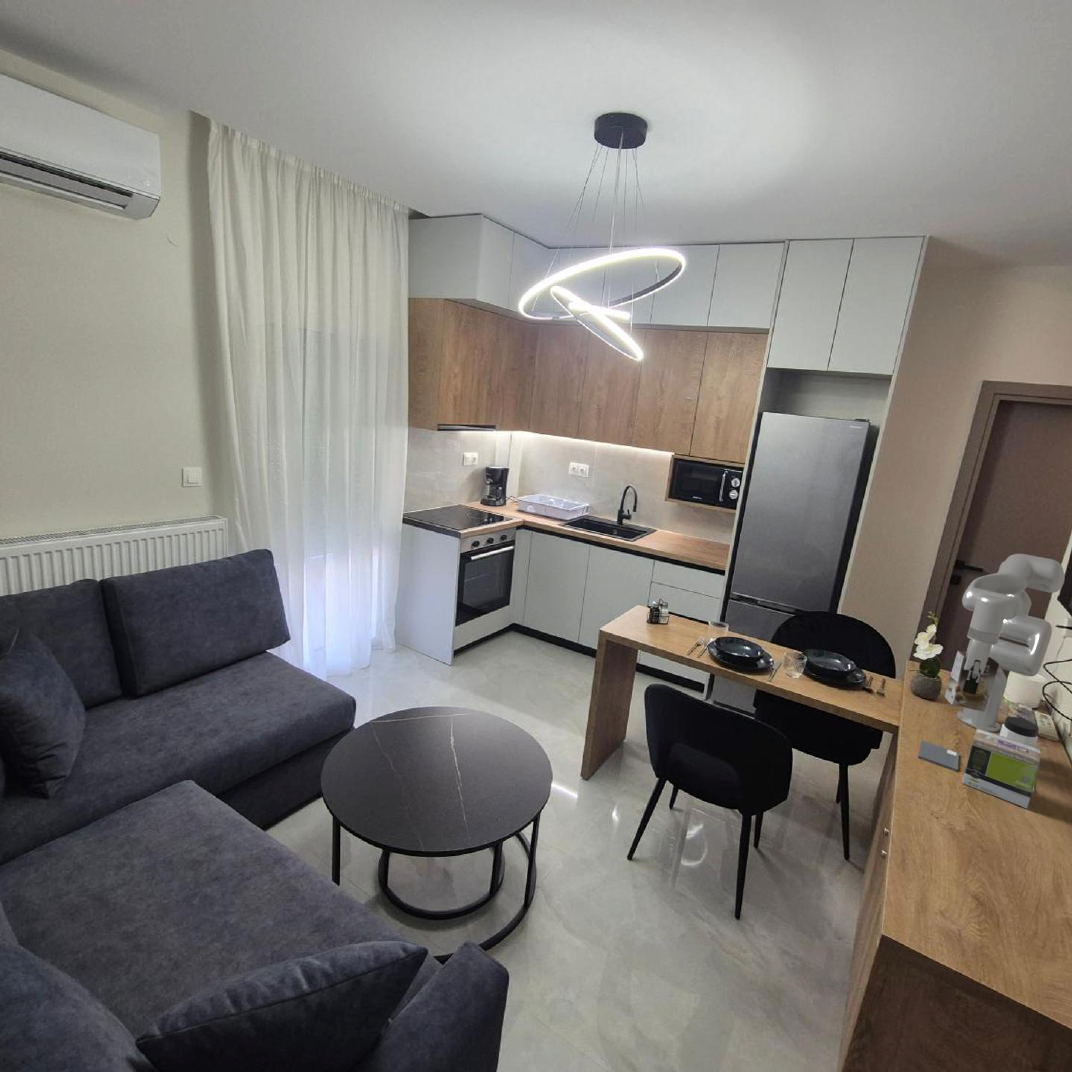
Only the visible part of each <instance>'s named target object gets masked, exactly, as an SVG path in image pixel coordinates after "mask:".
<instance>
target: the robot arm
mask: <svg viewBox="0 0 1072 1072" xmlns="http://www.w3.org/2000/svg"><path fill="white" fill-rule="evenodd" d="M1061 564H1062V563H1060V562H1059V561H1057V560H1055V559H1052V558H1047V557H1041V556H1036V555H1031V554H1025V553H1014V554H1012V555H1009V556H1007V558H1006V559H1005V560H1004V561H1002V562H1001V564H1000V565H999V567H998V571H997V573H991V574H987V575H982V576H980V577H977V578H975V579H974V580H972V582H971V583H970V584H969V585H968V587H967V588H966V589H965V591H964V592H963V596H962V600H961V602H962V606H963V608H965V609H966V610H968V611H971V612H973V613H972V616H971V619H970V620H971V621H970V624H969V628H968V631H967V635H966V637H967V638H968V639H969V642H968V646H967V649H966V651H965V652H966V656H967V660H966V663H965V666H964V670H965V671H966V670H969V672H968V676H967V679H966V680H965V684H964V687H963V692H966V693H970V694H973V695H975V694H976V691H977V687H978V684H979V682H978V681H979V676H980V675H981V674H983V672H984V670H985V667H986V664H987V661H988V657H991V658H992V659H994V660H995V661H996V662H997V663H998V664H999V666H998V670H997V673H996V676H995V680H994V683H993V686H992V690H991V693H990V696H989V700H988V703H987V706H986V710H985V712H982V711H978V710H973V709H969V708H964V707H963V710H959V711H957V713H956V717H957V719H958V720H959V721H960V722H963V724H965V725H966V726H967V725H968V726H969V727H972V728H975V729H977V728H979V729H982V730H985V731H988V732H991V733H994V732H995V733H996V732H998V731H999V732H1000V731H1001V728H1002V725H1001V724H1000V723H999V722H998V721H997V720H998V717H999V712H1000V709H1001V706H1002V703H1003V699H1004V695H1005V691H1006V688H1007V684H1008V680H1007V677H1006V675H1005V673H1004V670H1006V671H1008V672H1012V673H1015V674H1018V675H1021V676H1026V677H1034V676H1037V674H1038V673H1040V670H1041V668H1042V665H1043V662H1044V659H1045V656H1046V653H1047V650H1048V647H1049V644H1050V641H1051V638H1052V634H1053V633H1052V632H1053V627H1052V624H1051V623H1050V622H1049V621H1047V620H1045V619H1042V618H1039V617H1035V616H1031V615H1029V612H1030V609H1031V608H1032V607H1031V606H1032V601H1031V598H1030V596H1029V595H1028V593H1027V591H1026V589H1027V588H1029V589H1032V590H1037V591H1041V592H1047V593H1057V592H1059V591H1060V590H1061V589H1062V587H1063V585H1064V583H1065V572H1064V568H1063V565H1061ZM1000 637H1001V638H1005V639H1008V640H1012V641H1015V642H1018V643H1021V644H1026V645H1027V646H1024V645H1021V644H1017V643H1014V642H1011V641H1007V640H1004V639H1000ZM974 662H975V663H974ZM973 665H974V668H973V671H972V670H971V667H972V666H973ZM979 668H980V669H979ZM978 671H979V672H978ZM971 673H972V674H971ZM980 673H981V674H980ZM970 674H971V675H970Z"/></svg>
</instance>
